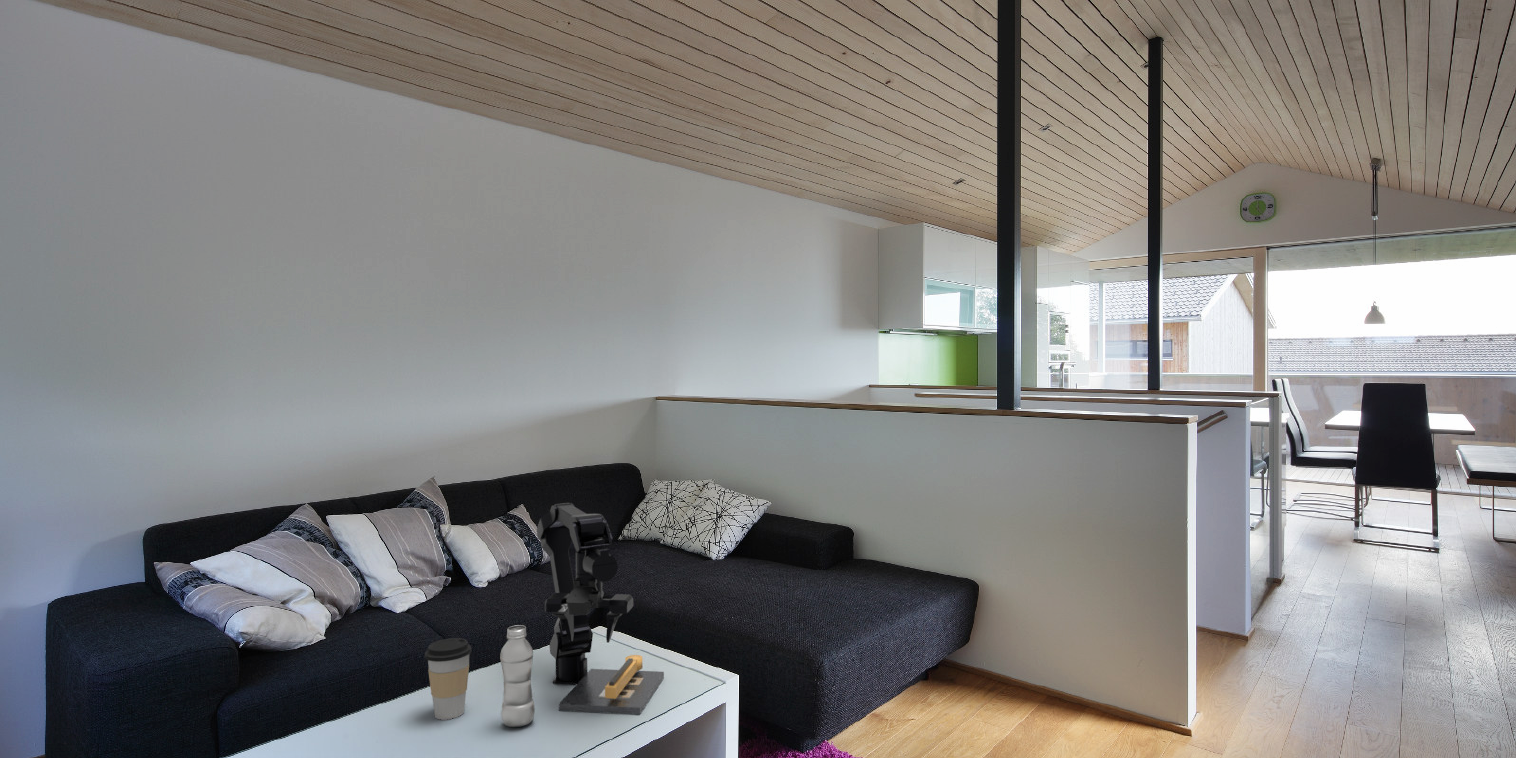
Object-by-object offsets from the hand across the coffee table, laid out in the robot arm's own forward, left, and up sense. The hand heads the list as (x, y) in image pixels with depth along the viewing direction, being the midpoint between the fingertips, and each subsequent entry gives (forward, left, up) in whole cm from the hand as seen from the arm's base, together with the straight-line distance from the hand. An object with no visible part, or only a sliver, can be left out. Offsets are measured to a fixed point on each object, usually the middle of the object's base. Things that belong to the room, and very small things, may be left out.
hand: (589, 641), depth 171 cm
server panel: (+4, +4, -13) cm, 14 cm away
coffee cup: (-28, -10, -13) cm, 32 cm away
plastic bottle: (-11, -13, -13) cm, 22 cm away
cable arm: (+6, +5, -10) cm, 13 cm away
